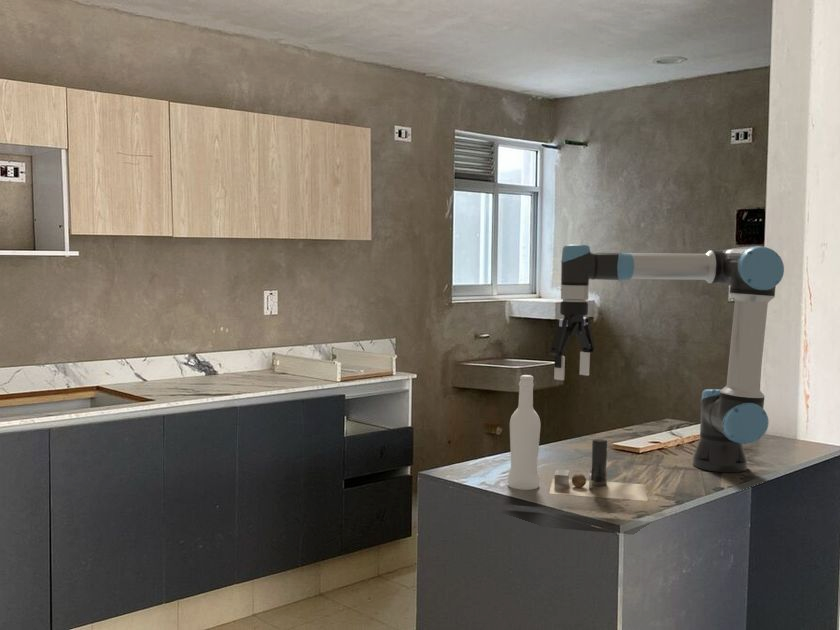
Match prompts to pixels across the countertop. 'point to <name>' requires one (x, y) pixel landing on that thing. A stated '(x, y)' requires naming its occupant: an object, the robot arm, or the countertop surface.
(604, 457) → the lever
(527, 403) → the bottle
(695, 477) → the countertop surface
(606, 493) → the board
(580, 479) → the brown ball
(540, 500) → the countertop surface
